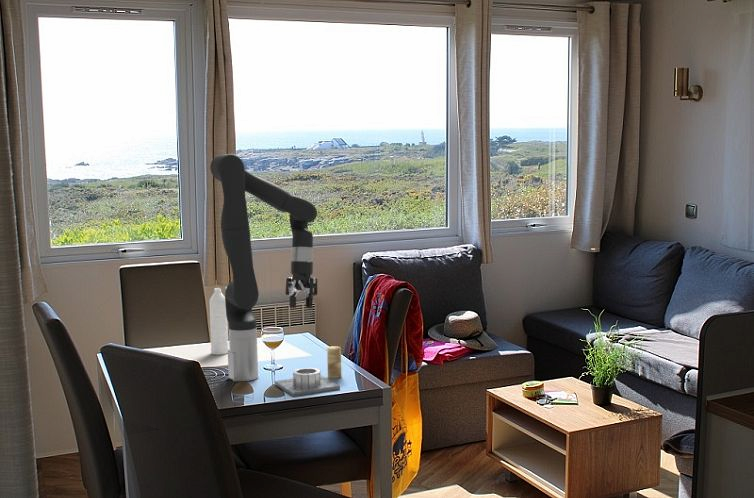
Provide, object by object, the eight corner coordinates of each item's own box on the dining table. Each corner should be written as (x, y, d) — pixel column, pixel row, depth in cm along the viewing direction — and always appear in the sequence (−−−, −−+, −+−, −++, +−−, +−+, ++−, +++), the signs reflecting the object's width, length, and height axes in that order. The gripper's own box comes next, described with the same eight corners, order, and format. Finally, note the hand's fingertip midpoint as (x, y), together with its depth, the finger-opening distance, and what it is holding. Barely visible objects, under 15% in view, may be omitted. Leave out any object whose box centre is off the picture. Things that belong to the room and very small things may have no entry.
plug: (331, 379, 289) (330, 349, 288) (325, 376, 293) (324, 347, 292) (343, 377, 292) (343, 348, 290) (338, 374, 296) (337, 345, 294)
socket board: (293, 396, 270) (292, 380, 269) (274, 384, 284) (274, 369, 283) (339, 389, 277) (339, 373, 276) (319, 378, 291) (319, 362, 291)
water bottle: (212, 355, 326) (209, 289, 323) (210, 351, 332) (208, 287, 329) (235, 353, 328) (233, 288, 325) (233, 350, 334) (231, 285, 332)
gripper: (280, 260, 300) (279, 307, 299) (306, 259, 290) (305, 308, 289) (297, 261, 305) (296, 307, 304) (324, 260, 295) (322, 308, 294)
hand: (300, 308), depth 296 cm, fingers open, 8 cm apart
